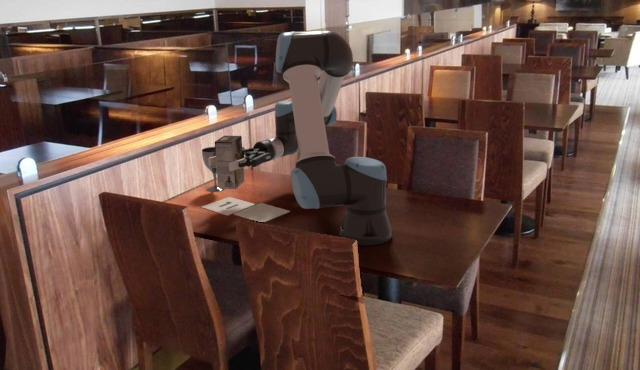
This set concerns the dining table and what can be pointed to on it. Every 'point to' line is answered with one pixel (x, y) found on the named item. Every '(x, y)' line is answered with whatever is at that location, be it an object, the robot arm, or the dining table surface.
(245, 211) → the set down mat
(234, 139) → the coffee box
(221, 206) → the tile
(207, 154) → the wine glass
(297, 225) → the dining table surface
